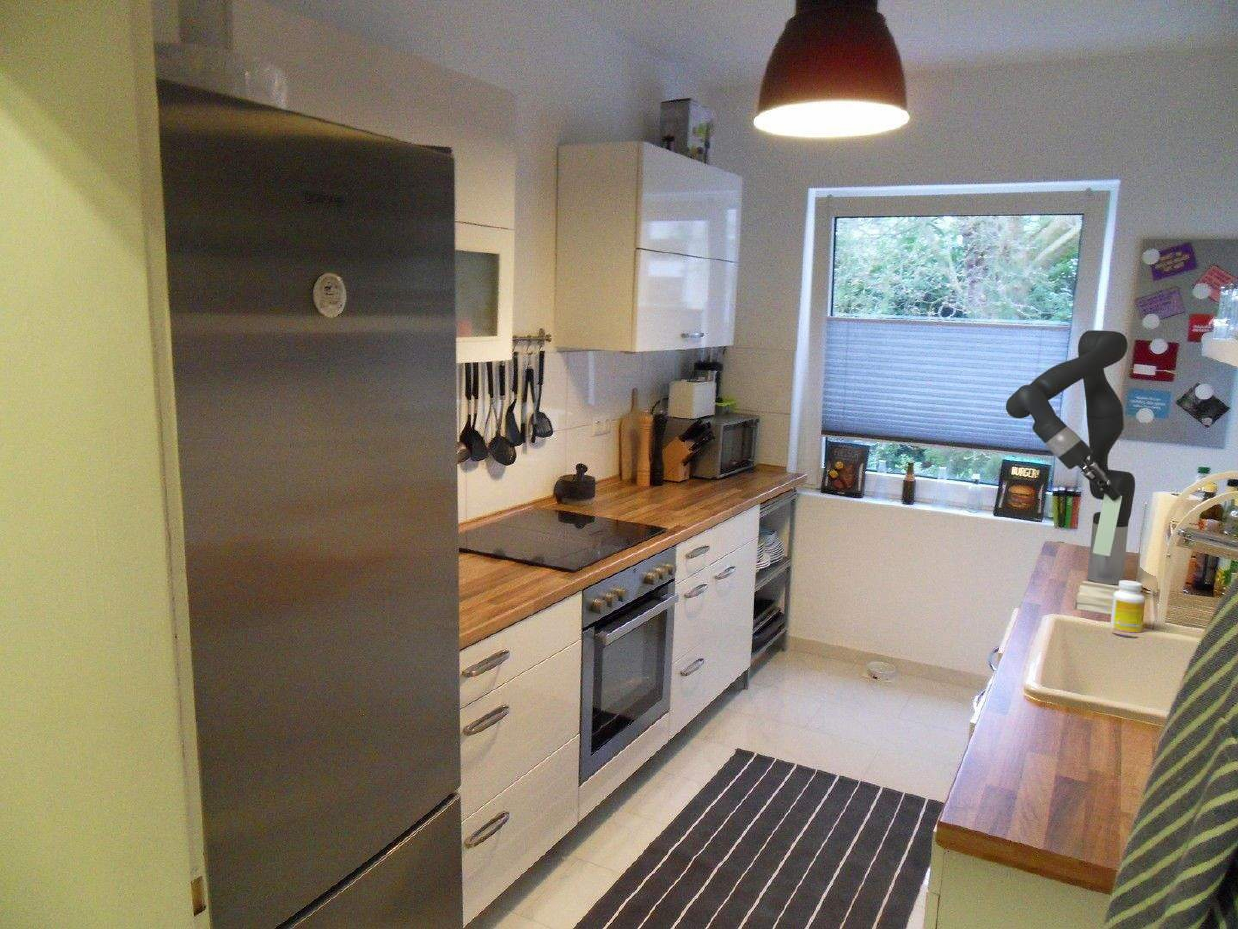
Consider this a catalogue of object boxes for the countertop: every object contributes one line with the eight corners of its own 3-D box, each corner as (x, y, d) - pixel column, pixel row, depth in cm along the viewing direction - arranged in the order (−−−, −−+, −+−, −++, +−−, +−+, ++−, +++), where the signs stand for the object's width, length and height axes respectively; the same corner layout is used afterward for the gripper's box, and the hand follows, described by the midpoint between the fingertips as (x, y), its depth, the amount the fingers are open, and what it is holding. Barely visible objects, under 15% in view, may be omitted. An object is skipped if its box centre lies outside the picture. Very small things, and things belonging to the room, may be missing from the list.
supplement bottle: (1145, 640, 204) (1151, 587, 203) (1115, 638, 206) (1120, 585, 204) (1135, 631, 211) (1140, 580, 209) (1105, 629, 212) (1110, 578, 211)
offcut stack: (1077, 602, 230) (1079, 580, 229) (1118, 608, 225) (1120, 586, 224) (1074, 609, 223) (1076, 586, 223) (1117, 615, 218) (1119, 592, 218)
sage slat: (1093, 551, 231) (1104, 493, 228) (1110, 554, 229) (1122, 496, 226) (1092, 553, 229) (1104, 494, 226) (1109, 556, 227) (1122, 497, 224)
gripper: (1078, 440, 223) (1129, 492, 218) (1082, 436, 234) (1131, 485, 229) (1053, 459, 226) (1103, 511, 221) (1059, 454, 238) (1106, 502, 233)
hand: (1117, 497), depth 225 cm, fingers closed on sage slat, 2 cm apart
